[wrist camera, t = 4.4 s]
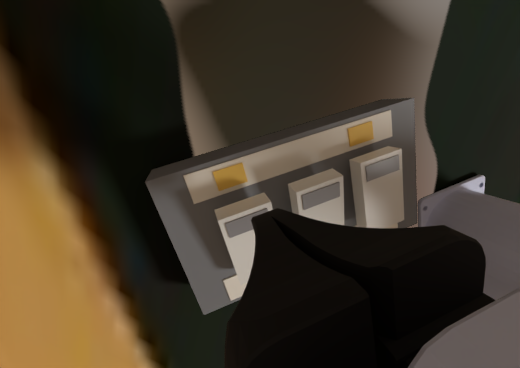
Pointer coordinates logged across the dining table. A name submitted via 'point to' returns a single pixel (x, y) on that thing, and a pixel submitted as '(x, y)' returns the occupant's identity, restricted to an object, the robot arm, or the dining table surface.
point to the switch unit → (272, 184)
